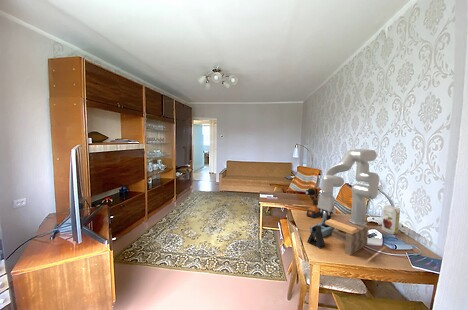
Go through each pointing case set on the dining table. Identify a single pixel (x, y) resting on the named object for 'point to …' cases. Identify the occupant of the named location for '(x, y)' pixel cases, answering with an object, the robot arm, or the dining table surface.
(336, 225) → the bar
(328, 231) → the rack
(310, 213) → the power drill
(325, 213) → the drill bit
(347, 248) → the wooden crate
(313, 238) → the black a-frame stand
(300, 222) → the dining table surface
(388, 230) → the juice carton
